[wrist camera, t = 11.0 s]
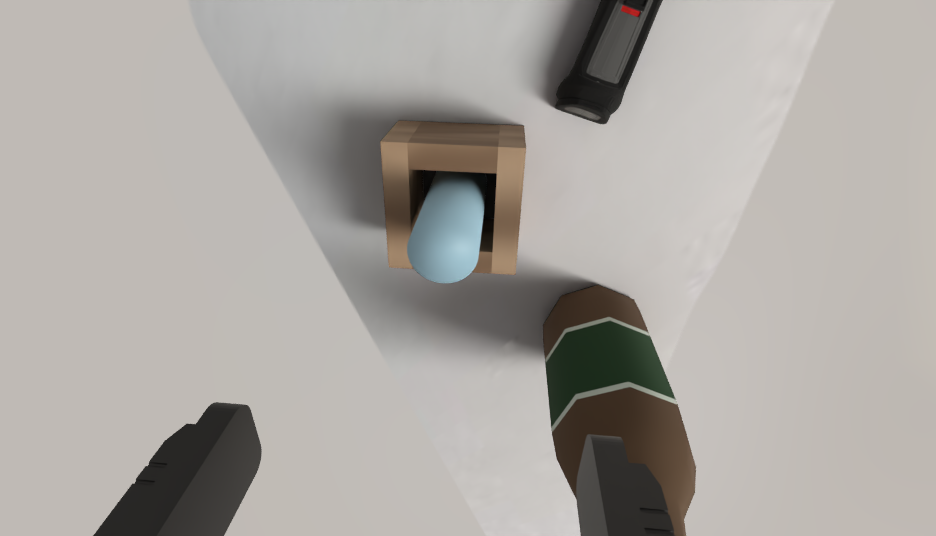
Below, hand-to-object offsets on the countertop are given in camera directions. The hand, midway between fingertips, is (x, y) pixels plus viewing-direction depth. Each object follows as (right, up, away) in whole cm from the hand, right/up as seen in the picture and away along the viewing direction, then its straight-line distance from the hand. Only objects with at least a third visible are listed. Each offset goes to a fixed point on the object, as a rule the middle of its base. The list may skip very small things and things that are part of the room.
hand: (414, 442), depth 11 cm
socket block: (+1, +10, +21) cm, 23 cm away
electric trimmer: (+10, +20, +15) cm, 27 cm away
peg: (+1, +10, +21) cm, 23 cm away
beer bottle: (+11, 0, +26) cm, 28 cm away
